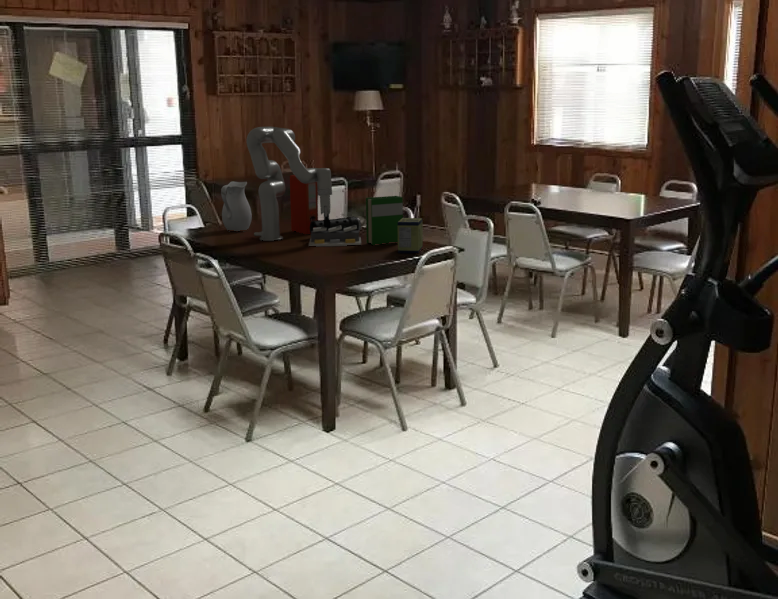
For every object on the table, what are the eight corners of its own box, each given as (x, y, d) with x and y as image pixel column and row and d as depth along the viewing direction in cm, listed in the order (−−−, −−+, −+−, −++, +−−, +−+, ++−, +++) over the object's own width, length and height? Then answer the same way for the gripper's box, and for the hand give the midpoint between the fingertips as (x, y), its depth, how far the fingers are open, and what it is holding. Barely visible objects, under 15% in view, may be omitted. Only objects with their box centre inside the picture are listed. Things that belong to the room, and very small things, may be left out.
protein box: (422, 248, 427) (422, 217, 423) (418, 254, 412) (418, 222, 408) (402, 248, 429) (402, 217, 425) (397, 253, 414) (397, 222, 410)
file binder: (303, 229, 492) (301, 174, 484) (318, 233, 478) (317, 176, 470) (291, 231, 487) (289, 175, 480) (306, 235, 473) (304, 177, 466)
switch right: (344, 232, 443) (343, 229, 443) (344, 230, 449) (343, 228, 448) (356, 228, 443) (356, 226, 443) (356, 227, 449) (356, 224, 448)
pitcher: (232, 228, 502) (229, 180, 496) (257, 229, 497) (255, 181, 490) (211, 234, 481) (207, 184, 474) (237, 235, 475) (234, 185, 468)
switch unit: (308, 246, 436) (308, 234, 435) (310, 240, 455) (310, 228, 454) (361, 245, 437) (360, 233, 436) (360, 239, 456) (360, 227, 455)
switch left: (313, 231, 442) (312, 229, 442) (313, 230, 448) (313, 227, 448) (326, 230, 443) (325, 227, 442) (326, 228, 448) (326, 226, 448)
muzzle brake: (309, 238, 463) (308, 219, 461) (353, 233, 478) (352, 215, 476) (318, 240, 455) (317, 221, 453) (362, 235, 470) (361, 216, 468)
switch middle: (328, 232, 443) (328, 229, 443) (329, 230, 448) (328, 228, 448) (341, 229, 443) (340, 226, 442) (341, 227, 448) (340, 224, 448)
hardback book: (372, 245, 436) (371, 199, 431) (366, 243, 443) (365, 197, 437) (403, 242, 444) (402, 197, 438) (396, 240, 450) (396, 195, 445)
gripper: (318, 191, 448) (320, 225, 452) (317, 193, 433) (319, 229, 437) (332, 190, 448) (334, 225, 452) (331, 193, 434) (334, 228, 438)
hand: (327, 227), depth 445 cm, fingers closed
